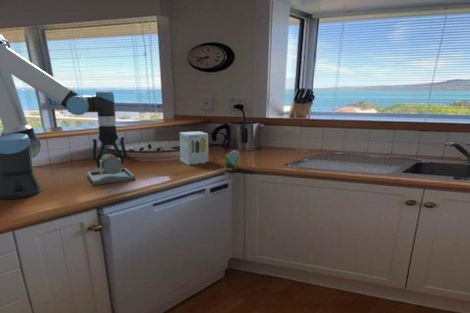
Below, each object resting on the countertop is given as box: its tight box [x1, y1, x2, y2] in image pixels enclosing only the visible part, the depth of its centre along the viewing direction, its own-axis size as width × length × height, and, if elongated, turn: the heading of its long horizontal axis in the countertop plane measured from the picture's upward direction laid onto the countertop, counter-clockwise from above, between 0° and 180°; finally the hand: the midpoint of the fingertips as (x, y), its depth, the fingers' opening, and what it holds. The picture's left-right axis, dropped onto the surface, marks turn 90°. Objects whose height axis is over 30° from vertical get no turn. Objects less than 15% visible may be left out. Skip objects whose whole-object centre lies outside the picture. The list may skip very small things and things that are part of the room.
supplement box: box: [179, 130, 209, 165], centre depth 184 cm, size 13×13×18 cm
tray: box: [86, 167, 136, 186], centre depth 148 cm, size 18×18×2 cm
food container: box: [225, 149, 241, 172], centre depth 167 cm, size 12×6×10 cm, turn 168°
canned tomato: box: [100, 153, 123, 174], centre depth 146 cm, size 8×8×11 cm
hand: (110, 172), depth 148 cm, fingers closed on canned tomato, 8 cm apart
